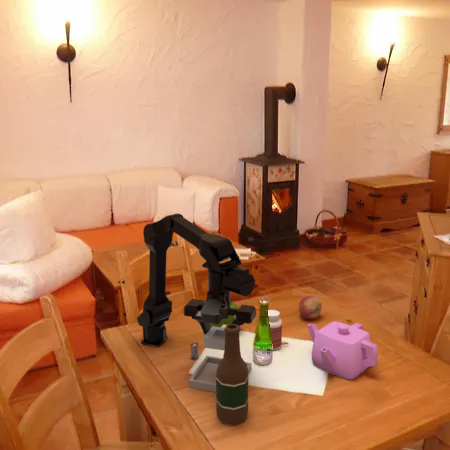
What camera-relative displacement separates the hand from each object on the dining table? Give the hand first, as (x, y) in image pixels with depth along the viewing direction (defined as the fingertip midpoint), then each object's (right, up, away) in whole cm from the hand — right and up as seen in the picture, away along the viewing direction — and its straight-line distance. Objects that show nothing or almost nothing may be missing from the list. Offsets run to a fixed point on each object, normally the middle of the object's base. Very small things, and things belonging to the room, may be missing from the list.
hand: (220, 340), depth 139 cm
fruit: (+30, -1, +39) cm, 49 cm away
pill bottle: (+16, -6, +20) cm, 26 cm away
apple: (+1, -4, +29) cm, 29 cm away
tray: (0, -11, +3) cm, 12 cm away
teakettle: (+34, -9, +9) cm, 36 cm away
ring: (0, -1, 0) cm, 1 cm away
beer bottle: (+3, -16, -13) cm, 21 cm away
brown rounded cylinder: (-8, -8, +13) cm, 18 cm away
